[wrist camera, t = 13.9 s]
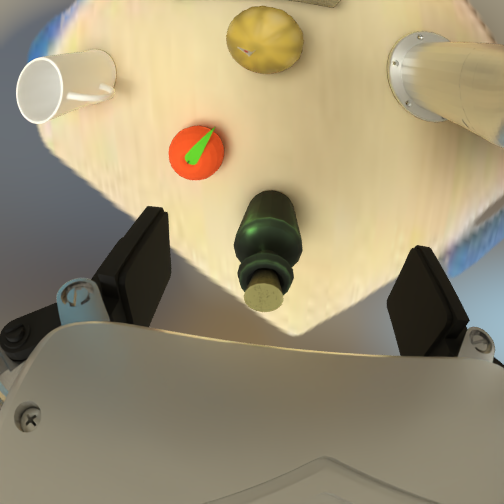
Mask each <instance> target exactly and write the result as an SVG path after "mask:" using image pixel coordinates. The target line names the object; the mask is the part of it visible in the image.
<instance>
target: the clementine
mask: <svg viewBox="0 0 504 504" xmlns="http://www.w3.org/2000/svg"><path fill="white" fill-rule="evenodd" d="M214 128H215V127H214ZM214 128H213V129H212V130H211V129H209V128H207V127H203V126H192V127H189V128H185V129H183V130H182V131H180V132H179V133H178V134H177V135H176V136H175V137H174V138H173V140H172V142H171V144H170V147H169V160H170V163H171V166H172V168H173V169H174V170H175V172H176V173H177V174H179V175H180V176H181V177H183V178H185V179H189V180H202V179H206V178H208V177H210V176H211V175H213V174H214V173H215V172H216V171H217V170H218V169H219V167H220V166H221V164H222V161H223V157H224V147H223V144H222V141H221V139H220V138H219V136H218V135H217V134H216V133H215V132H214V131H213V130H214Z"/></svg>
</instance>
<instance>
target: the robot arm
mask: <svg viewBox="0 0 504 504" xmlns="http://www.w3.org/2000/svg"><path fill="white" fill-rule="evenodd" d="M417 36H419V39H418V38H417ZM393 61H394V62H395V65H393ZM387 74H388V81H389V84H390V87H391V90H392V92H393V94H394V96H395V98H396V99H397V100H398V102H399V103H400V104H401V106H402V107H403V108H405V109H406V110H407V111H408V112H409V113H411V114H412V115H414V116H416V117H418V118H420V119H422V120H425V121H429V122H443V121H446V120H450V121H452V122H454V123H456V124H458V125H460V126H462V127H464V128H465V129H467V130H469V131H471V132H473V133H475V134H477V135H478V136H480V137H482V138H484V139H485V140H487V141H489V142H491V143H493V144H494V145H497V146H499V147H501V148H504V45H501V44H490V43H473V42H450V41H449V40H448V39H446V38H445V37H443V36H441V35H439V34H436V33H433V32H426V31H420V32H414V33H410V34H408V35H406V36H404V37H402V38H401V39H400V40H399V41H397V43H396V44H395V45H394V47H393V48H392V50H391V53H390V55H389V59H388V63H387ZM406 101H407V102H408V103H407V104H406ZM170 276H171V258H170V241H169V221H168V213H167V212H164V210H163V208H161V207H152V206H147V207H146V209H145V210H144V211H143V212H142V214H141V215H140V216H139V218H138V219H137V220H136V221H135V223H134V224H133V225H132V227H131V228H130V229H129V231H128V232H127V233H126V235H125V236H124V237H123V238H121V239H120V240H119V241H118V242H117V244H116V245H115V246H114V248H113V249H112V251H111V252H110V253H109V255H108V256H107V258H106V259H105V260H104V262H103V263H102V265H101V266H100V267H99V269H98V270H97V272H96V273H95V275H94V276H93V278H92V279H91V280H90V279H87V278H77V279H73V280H71V281H69V282H67V283H66V284H64V285H63V286H62V287H61V288H60V289H59V291H58V293H57V303H54V304H52V305H49V306H47V307H44V308H42V309H39V310H37V311H34V312H32V313H29V314H27V315H24V316H22V317H20V318H17V319H15V320H13V321H11V322H9V323H8V324H7V325H6V326H5V327H4V328H3V330H2V331H1V334H0V504H504V365H503V364H502V363H501V362H500V361H498V360H497V359H496V358H494V353H495V346H494V342H493V340H492V338H491V337H490V336H489V334H488V333H487V332H485V331H484V330H483V329H481V328H478V327H471V328H469V329H467V327H466V325H467V323H468V322H469V321H470V320H469V318H468V316H467V314H466V312H465V310H464V308H463V306H462V304H461V302H460V300H459V298H458V296H457V294H456V292H455V290H454V289H453V287H452V285H451V283H450V281H449V279H448V277H447V275H446V274H445V272H444V270H443V269H442V267H441V265H440V263H439V261H438V260H437V258H436V256H435V254H434V253H433V251H432V249H431V248H430V247H425V246H419V245H417V246H415V248H412V249H411V250H410V252H409V254H408V257H407V259H406V261H405V263H404V265H403V268H402V270H401V272H400V274H399V276H398V278H397V280H396V283H395V285H394V287H393V289H392V291H391V293H390V295H389V297H388V299H387V309H388V312H389V315H390V319H391V322H392V326H393V329H394V333H395V336H396V340H397V344H398V348H399V352H400V355H401V356H388V355H366V354H351V353H336V352H323V351H311V350H301V349H290V348H282V347H273V346H265V345H257V344H249V343H242V342H234V341H227V340H221V339H213V338H207V337H202V336H196V335H190V334H184V333H178V332H172V331H167V330H161V329H156V328H150V327H149V326H150V323H151V321H152V318H153V316H154V314H155V311H156V309H157V306H158V304H159V302H160V300H161V297H162V295H163V293H164V290H165V288H166V286H167V284H168V281H169V279H170Z"/></svg>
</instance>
